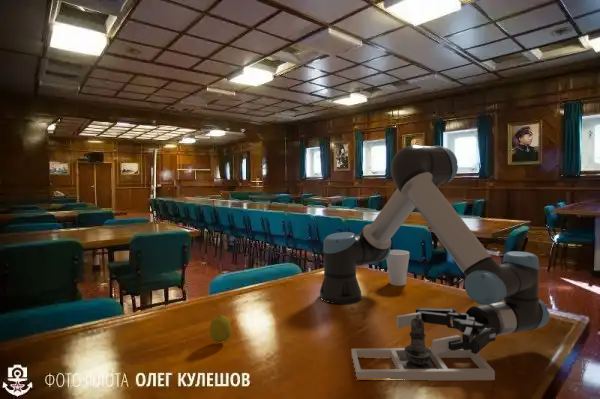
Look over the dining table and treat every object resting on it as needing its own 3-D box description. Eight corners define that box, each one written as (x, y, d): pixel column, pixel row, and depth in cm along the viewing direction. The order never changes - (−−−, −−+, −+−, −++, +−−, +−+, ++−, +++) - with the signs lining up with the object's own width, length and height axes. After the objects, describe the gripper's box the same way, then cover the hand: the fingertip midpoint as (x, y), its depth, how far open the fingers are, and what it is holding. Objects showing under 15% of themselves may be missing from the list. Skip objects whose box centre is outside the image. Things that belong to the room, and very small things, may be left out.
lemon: (235, 340, 97) (234, 312, 96) (224, 349, 91) (223, 319, 91) (217, 338, 98) (216, 310, 98) (206, 347, 93) (205, 317, 93)
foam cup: (383, 280, 149) (382, 250, 148) (404, 279, 149) (404, 249, 149) (390, 287, 139) (390, 255, 138) (413, 286, 140) (413, 254, 139)
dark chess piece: (427, 359, 83) (427, 310, 82) (434, 373, 77) (434, 320, 76) (402, 359, 84) (401, 310, 83) (407, 372, 78) (406, 319, 77)
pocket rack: (356, 380, 76) (356, 371, 76) (351, 356, 86) (351, 348, 86) (494, 380, 75) (494, 370, 74) (472, 355, 85) (472, 347, 85)
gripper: (537, 359, 74) (452, 378, 68) (453, 316, 98) (385, 327, 92) (537, 325, 73) (452, 341, 67) (453, 289, 97) (385, 299, 91)
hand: (413, 333), depth 79 cm, fingers open, 13 cm apart
